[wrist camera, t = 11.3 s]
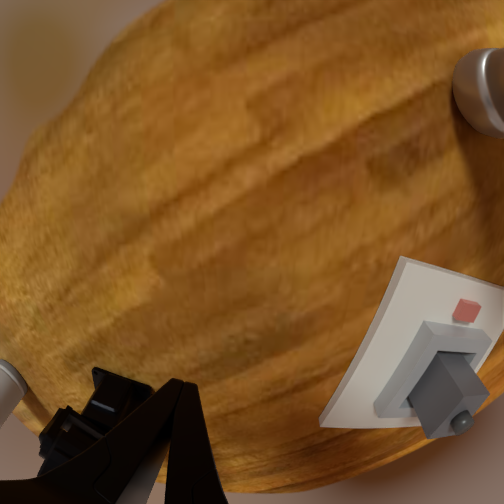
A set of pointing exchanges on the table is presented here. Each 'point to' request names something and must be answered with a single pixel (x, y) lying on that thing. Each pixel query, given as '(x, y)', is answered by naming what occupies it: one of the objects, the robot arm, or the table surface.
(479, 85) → the plastic bottle
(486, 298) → the socket
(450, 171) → the table surface
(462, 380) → the plug
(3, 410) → the travel mug
